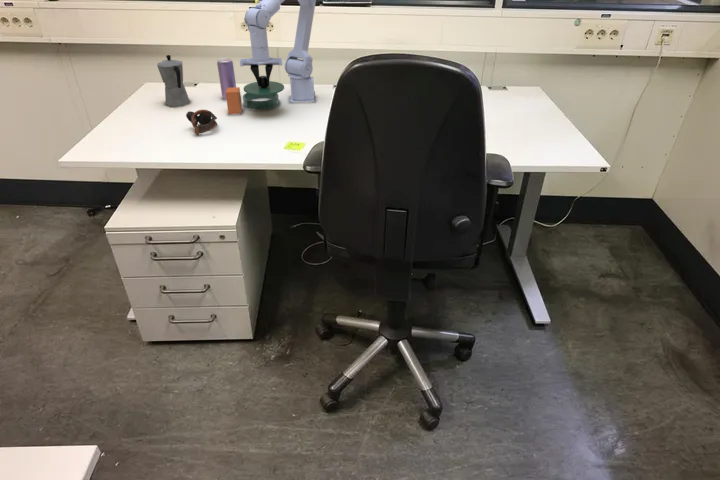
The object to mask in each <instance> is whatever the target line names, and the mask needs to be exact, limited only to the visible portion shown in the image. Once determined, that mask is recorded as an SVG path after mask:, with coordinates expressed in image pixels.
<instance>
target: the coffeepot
mask: <svg viewBox="0 0 720 480" xmlns="http://www.w3.org/2000/svg"><path fill="white" fill-rule="evenodd" d="M165 57H166V60H162V61H159V62H157V64H156V65H157V69H158V72H159V75H160V77H161V80H162V82H163V84H164V94H165V95H164V98H165V105H166V106H168V107H173V108H177V107H184V106H186V105H188V104H190V98H189V95H188V92H187V90H186V87H185V85H184V70H183V69H184V68H183V61H182V60H177V59H172V57H171V54H167V55H165Z"/></svg>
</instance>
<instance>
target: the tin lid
mask: <svg viewBox="0 0 720 480" xmlns="http://www.w3.org/2000/svg"><path fill="white" fill-rule="evenodd" d="M259 76H260V87H258V83H257V81H253V82H250V83H247V84H246V85H244V86H243V91H244V92H245V93H249V94H253V95H270V94H275V93H277V94H279V93H281V92H282V91H284V90H285V85H284V84H283V83H282V82H279V81H272V80H269V86H268V87H267V78H266V75H259Z"/></svg>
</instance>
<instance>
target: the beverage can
mask: <svg viewBox="0 0 720 480" xmlns="http://www.w3.org/2000/svg"><path fill="white" fill-rule="evenodd" d="M216 66H217V73H218V78H219V85H220V86H219V87H220V91H221V92H220V93H221V98H222V100H226V93H225V92H226V90H227V88H229V87H237V82H236V73H235V67H234V61H233V58H231V57H220V58H218V59H216Z"/></svg>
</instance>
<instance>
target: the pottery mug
mask: <svg viewBox="0 0 720 480" xmlns="http://www.w3.org/2000/svg"><path fill="white" fill-rule="evenodd" d="M185 116H186V119H187V120H188V121H189V122H190V123H191V125H192V127H193V128H194V130H193V133H194V135H196V136H199V135H200V134H203V133H207V132H210V131H211V130H213V129H214V128H215V127H216V126H219V124H218V122H217V121H216V120H217V119H218V117H217V115H215V114H214V113H213V112H212V111H210V110H208V109H199V110H198V109H197V110H196V111H187V112H186V114H185Z"/></svg>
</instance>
